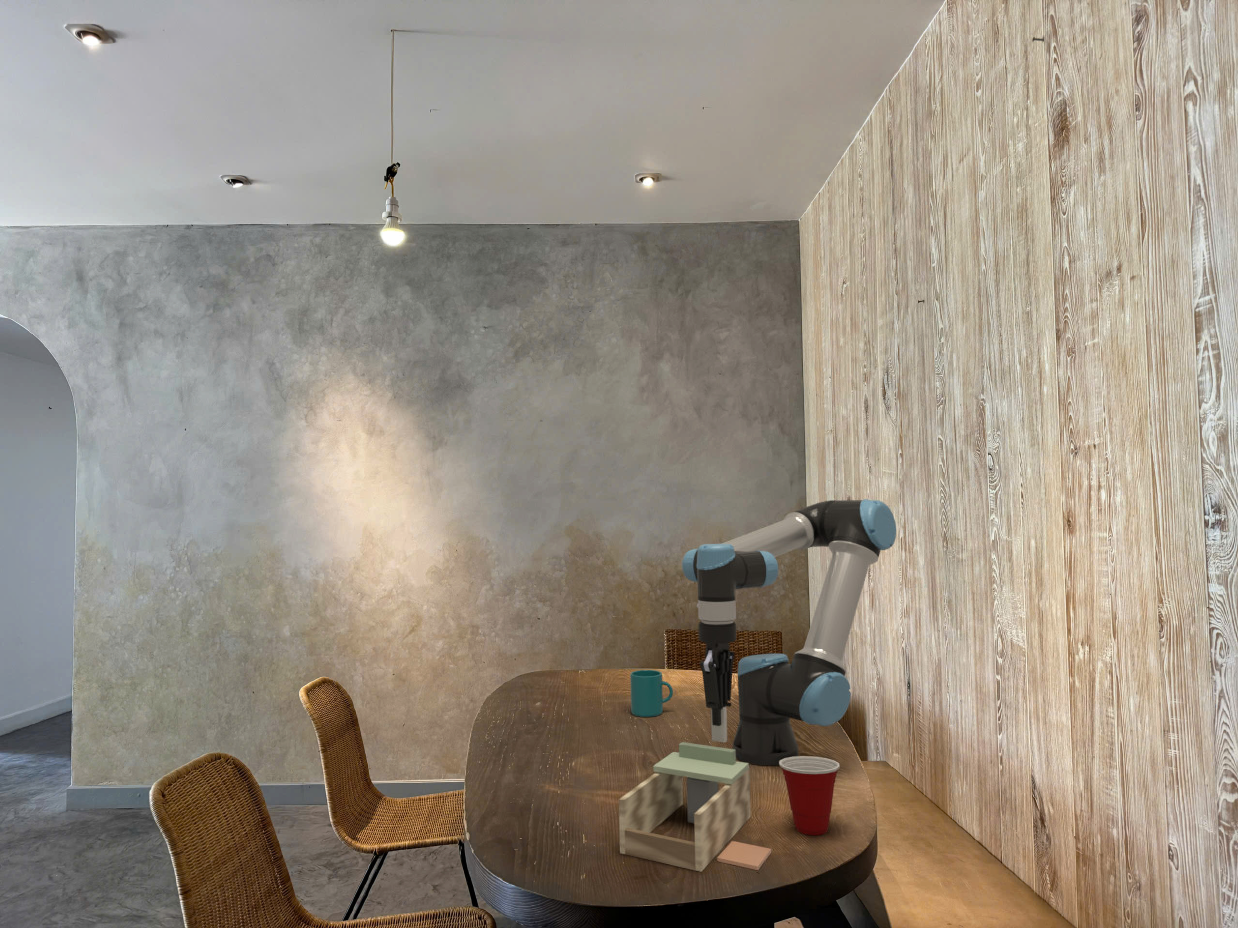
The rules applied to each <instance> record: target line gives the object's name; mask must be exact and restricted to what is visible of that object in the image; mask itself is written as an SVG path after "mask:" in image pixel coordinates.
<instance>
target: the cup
mask: <svg viewBox="0 0 1238 928" xmlns="http://www.w3.org/2000/svg"><path fill="white" fill-rule="evenodd" d="M629 678H630V682H629V683H630V712H631V714H632V715H633V716H636V717H640V718H653V717H654V718H655V717H658V716H660V715H662V713H663V712H664V704H665V703H668V702H669V701H670V700H671V699H672V698H673V695H674V693H673V692H674V689H673V687H672V685H671V684H670V683H669V682H667V681H664V680H663V673H662V672H661V671H659V670H656V669H655V670H654V669H638V670H635V671H632V672H630V674H629ZM663 686H665V687H667V689H668V690H669V694H668V696H667V697H665V698H664V697H663Z"/></svg>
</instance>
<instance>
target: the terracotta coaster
mask: <svg viewBox="0 0 1238 928" xmlns="http://www.w3.org/2000/svg"><path fill="white" fill-rule="evenodd" d="M771 854H772V848H768V847H763V846H760V845H755V844H754V845H753V844H749V843H744V842H740V841H735V840H731V841H730V843H729V844H728V845H727V846H726V848H724V849H723V851H722V852H721V853H720V854H719V855H718V856H716V857H717V858H716V859H717V861H716V862H719V863H723V864H727V865H732V866H737V867H741V868H745V869H750V870H756V871H759V870H760V868H761V867H762V866H763V864H764V863H765V862H766V861H767V859H768V858H769V856H770V855H771Z"/></svg>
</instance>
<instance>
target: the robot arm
mask: <svg viewBox="0 0 1238 928" xmlns="http://www.w3.org/2000/svg"><path fill="white" fill-rule="evenodd" d="M894 516H895V515H894V514H893V512H892V510H891V508H890V507H889V506H888V505H887V504H886V503H885V502H883V501H881V500H877V499H876V500H875V499H869V498H865V499H852V500H851V499H850V500H849V499H846V500H844V499H841V500H835V499H834V500H833V499H832V500H825V501H820V502H817V503H814V504H810V505H808V506H805V507H802V508H800V509H798V510H796V511H792V512H789V513H788V514H786V515H785V516H784V518H783V519H782V520H780V521H778V522H775V523H771V524H770V525H767V526H765V527H762V528H758V529H756V530H754V531H752V532H751V531H750V532H749V533H745V534H743V535H740V536H738V537H736V538H733V539H730V540H727V541H725V542H722V543H704V544H700V545H699V547H698V548H694V549H690V550H688V551H687V552H686V553H685V554H684V556H683V558H682V562H681V567H682V573H683V575H684V576H685V577H684V578H686V579H687V580H689V581H690V582H694V583H697V604H696V608H697V609H698V610H697V611H698V613H697V614H698V615H697V616H698V620H700V621H699V623H698V626H697V627H698V630H697V631H698V633H697V634H698V640H699V641H700V642H702V643H705V645H706V646H705V652H704V658H705V660H700V662H699V666H700V669H701V673H702V680H703V691H704V699H705V707H706V708H707V709H710V715H711V716H710V717H711V719H710V720H711V722H710V723H711V741H712V742H718V743H719V742H720V743H726V742H727V741H728V720H727V719H728V717H727V710H728V709H727V707H728V708H730V707H732V702H730V701H731V699H732V685H733V665H734V660H735V652H734V651H730V644H731V643H734V642H735V641H736V640H737V623H735V622H734V621H735V620H736V619H737V607H736V603H737V602H736V590H740V589H753V588H758V589H760V588H761V589H762V588H764V587H767V586H771V585H772V584H773V583H775V582H776V581H777V578H778V576H779V564H778V560H777V559H776V558H777V557H778V556H782V555H784V554H787V553H789V552H791V551H794V550H798V551H804V550H807V549H810V548H815V547H817V548H818V547H819V548H820V547H822V548H823V547H825V548H826V547H828V549H829V551H830V552H831V554H832V556H831V558H830V562H829V565H828V568H827V572H826V575H825V577H824V581H823V583H822V584H823V585H822V587H821V591H820V594H819V597H818V601H817V604H816V607H815V610H814V614H813V617H812V620H811V623H810V627H809V630H808V633H807V637H806V639H805V643H804V646H803V648H802V649H800V650H798V651H796V652H794V654H793V658H792V661H791V663H789V657H788V656H787V654H785V653H763V654H761V653H760V654H754V655H753V654H752V655H748V656H745V657H742V658H740V660H739V661H738V663H737V664H738V666H737V667H738V668H737V688H738V689H737V692H738V693H737V694H738V712H739V720H738V725H737V728H736V732H735V735H734V737H733V738H734V739H733V743H732V749H734V750H736V760H738V761H740V762H744V763H749V764H752V765H759V766H780V765H779V761H780V760H782V759H784V758H789V757H797V756H799V745H798V743H797V739H796V737H795V733H794V731H793V727H792V724H791V720H790V719H792V720H797V721H800V722H804V723H805V724H808V725H814V726H815V725H816V726H821V727H828V726H832V725H834V724H835V723H837V722H839V721H840V720H841V719H842V718H843V717H844V716H845V714H846V712H847V710H848V709H849V705H850V703H851V702H850V701H851V697H852V696H851V694H852V693H851V691H850V689H851V685H850V681H849V680H848V678H847V677H846V674H847V673H846V672H847V671H846V668H845V667H844V664H843V662H842V660H843V658H844V654H845V649H846V647H847V643H848V639H849V636H850V634H851V629H852V627H853V626H852V625H853V622H854V619H855V616H856V613H857V609H858V605H859V602H860V599H861V594H862V591H863V587H864V585H865V582H866V578H867V574H868V572H869V567H870V566H871V565H873V564H875V563H877V562H878V560H879V558H880V554H881V551H886V550H889V549H890V548H892V547H893V545H894V544H895V542H896V538H897V524H896V519H895V517H894Z"/></svg>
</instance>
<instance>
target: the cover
mask: <svg viewBox="0 0 1238 928" xmlns="http://www.w3.org/2000/svg"><path fill="white" fill-rule="evenodd" d="M736 760H737V758H736V750H734V749H733V748H725V747H719V746H713V745H705V744H700V743H693V742H686V741H682V742H680V743H678V752H677V751H672V752H671V753H670V754H668V755H667V756H666V757H664V758H662V759H661V760H659V761H658V762H657V763H656V764H654V765H653V767H652V768H653V769H652V770H653V771H652V772H655V773H656V772H660V773H666V774H672V775H678V776H682V777H685V778H688V777H690V778H696V779H702V780H708V781H714V782H718V783H720V784H725V785H726V784H731V785H732V784H733V783H734V782H735V781H736V780H737V779H739V778H740V777H741V776H742V775H743V774H744V773H745V772H746V771H747V770H748V769H749V770H750V763H747V762H743V761H736Z"/></svg>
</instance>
